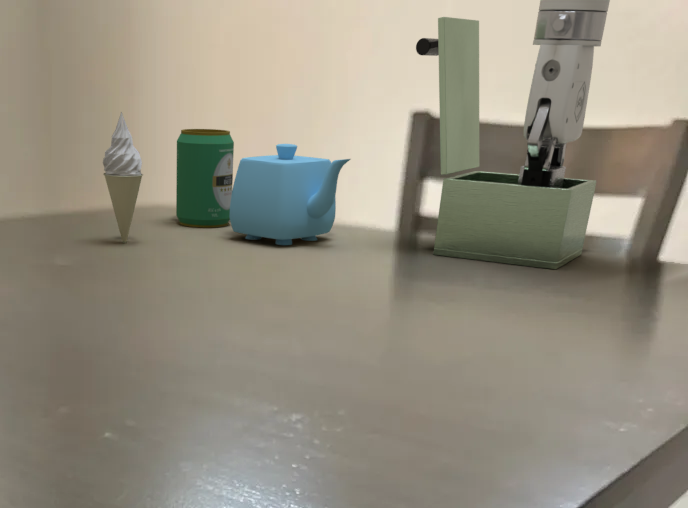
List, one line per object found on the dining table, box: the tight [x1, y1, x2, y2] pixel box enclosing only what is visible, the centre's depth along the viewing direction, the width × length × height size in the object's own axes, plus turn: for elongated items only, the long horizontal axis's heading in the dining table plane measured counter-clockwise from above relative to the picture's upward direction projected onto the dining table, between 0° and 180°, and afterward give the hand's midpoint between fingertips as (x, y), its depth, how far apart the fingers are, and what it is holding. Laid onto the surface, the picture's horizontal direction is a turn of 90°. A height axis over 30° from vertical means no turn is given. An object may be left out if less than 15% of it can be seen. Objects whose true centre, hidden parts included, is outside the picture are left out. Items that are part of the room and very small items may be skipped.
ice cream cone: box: [102, 111, 144, 244], centre depth 122 cm, size 5×5×15 cm
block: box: [518, 165, 567, 188], centre depth 120 cm, size 4×4×4 cm
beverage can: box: [175, 128, 235, 229], centre depth 138 cm, size 8×8×12 cm
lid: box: [415, 16, 480, 176], centre depth 121 cm, size 16×13×5 cm
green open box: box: [432, 170, 597, 270], centre depth 123 cm, size 16×13×9 cm
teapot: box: [229, 143, 352, 246], centre depth 128 cm, size 12×18×12 cm
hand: (537, 202), depth 121 cm, fingers closed on block, 4 cm apart
